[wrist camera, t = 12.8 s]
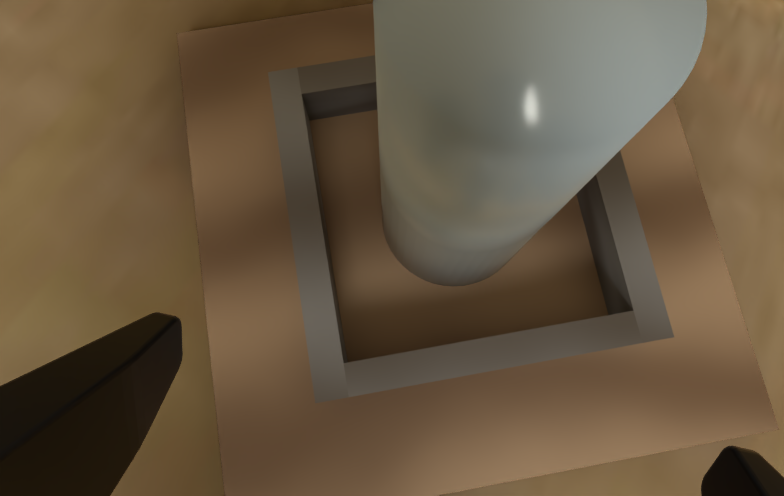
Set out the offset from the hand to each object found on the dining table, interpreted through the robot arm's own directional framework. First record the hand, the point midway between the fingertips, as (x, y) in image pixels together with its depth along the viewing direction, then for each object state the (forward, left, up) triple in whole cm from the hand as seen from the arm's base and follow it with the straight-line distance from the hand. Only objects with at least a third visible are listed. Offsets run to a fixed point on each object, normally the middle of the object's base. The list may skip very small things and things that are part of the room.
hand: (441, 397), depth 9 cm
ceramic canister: (+6, -2, -10) cm, 12 cm away
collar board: (+6, -2, -11) cm, 13 cm away
